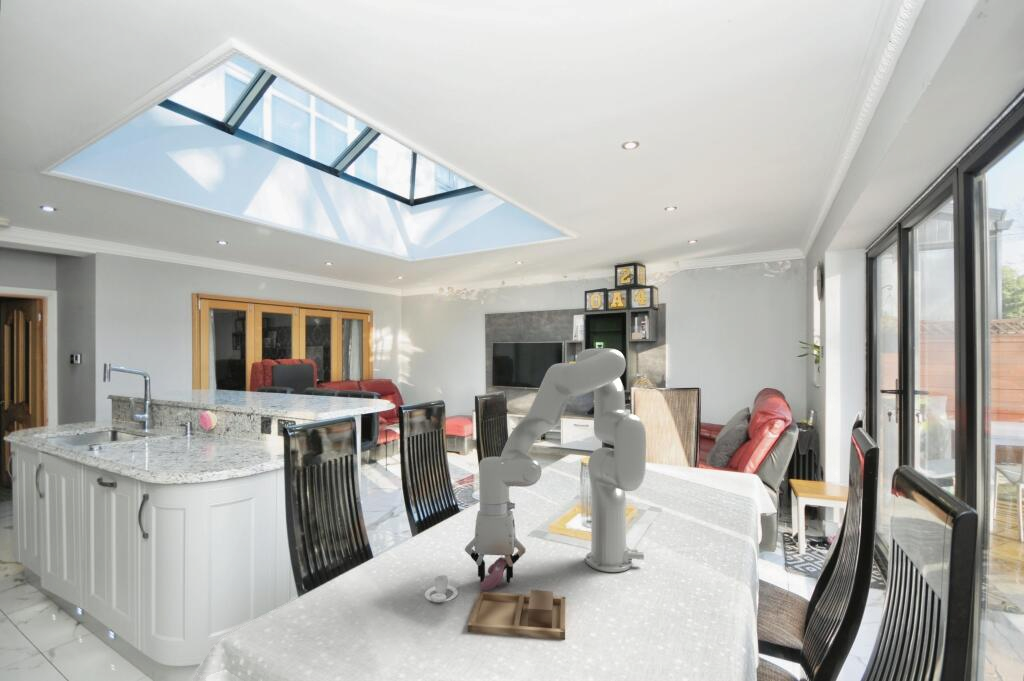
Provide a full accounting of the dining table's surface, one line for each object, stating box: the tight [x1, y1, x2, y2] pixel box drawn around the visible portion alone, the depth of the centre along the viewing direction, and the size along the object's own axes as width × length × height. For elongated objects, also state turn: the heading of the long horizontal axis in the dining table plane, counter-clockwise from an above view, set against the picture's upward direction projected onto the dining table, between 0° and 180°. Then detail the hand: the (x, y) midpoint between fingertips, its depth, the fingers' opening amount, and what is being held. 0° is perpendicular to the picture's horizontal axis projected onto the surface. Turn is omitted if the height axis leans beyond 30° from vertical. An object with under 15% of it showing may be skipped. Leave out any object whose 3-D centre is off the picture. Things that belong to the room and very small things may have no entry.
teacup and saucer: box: [424, 574, 459, 603], centre depth 113 cm, size 9×8×4 cm
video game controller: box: [479, 555, 507, 592], centre depth 117 cm, size 10×5×7 cm, turn 170°
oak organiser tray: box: [467, 591, 566, 640], centre depth 102 cm, size 20×14×2 cm
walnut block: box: [528, 589, 554, 628], centre depth 102 cm, size 5×8×4 cm, turn 173°
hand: (495, 579), depth 117 cm, fingers closed on video game controller, 6 cm apart
